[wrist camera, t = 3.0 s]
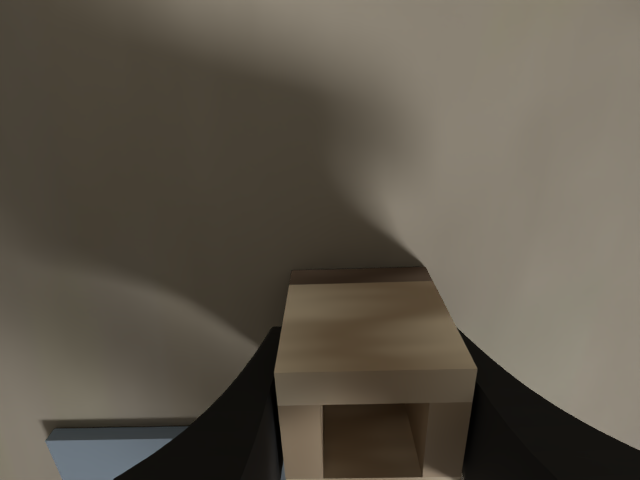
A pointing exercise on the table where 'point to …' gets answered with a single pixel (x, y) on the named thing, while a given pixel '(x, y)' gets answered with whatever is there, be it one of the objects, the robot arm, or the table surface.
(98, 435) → the pin plate
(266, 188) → the table surface
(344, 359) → the sleeve
